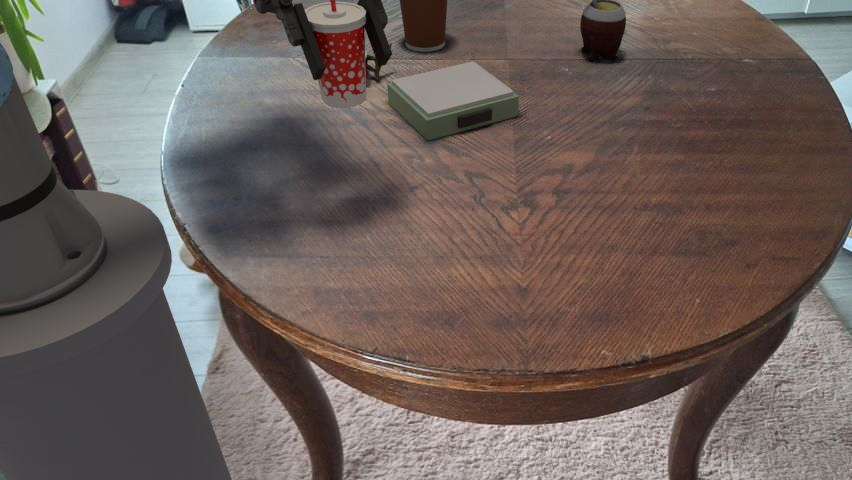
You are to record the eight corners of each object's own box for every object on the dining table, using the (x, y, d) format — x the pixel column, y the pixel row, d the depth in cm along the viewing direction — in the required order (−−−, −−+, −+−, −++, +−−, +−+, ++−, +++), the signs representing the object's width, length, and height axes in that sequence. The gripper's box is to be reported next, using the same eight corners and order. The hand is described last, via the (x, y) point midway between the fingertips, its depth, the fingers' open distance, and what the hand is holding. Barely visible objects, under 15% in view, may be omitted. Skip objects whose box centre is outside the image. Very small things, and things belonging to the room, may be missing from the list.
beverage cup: (384, 102, 77) (372, -38, 68) (330, 117, 74) (310, -27, 65) (357, 80, 81) (343, -55, 72) (305, 93, 78) (283, -45, 69)
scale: (429, 142, 96) (428, 117, 93) (388, 103, 104) (386, 79, 101) (520, 117, 101) (521, 93, 99) (474, 82, 109) (474, 59, 107)
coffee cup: (402, 31, 123) (397, -44, 116) (456, 34, 123) (455, -41, 115) (392, 53, 116) (386, -25, 109) (449, 56, 116) (447, -22, 108)
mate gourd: (628, 53, 119) (642, -45, 109) (606, 70, 114) (619, -31, 104) (587, 41, 122) (597, -54, 112) (564, 57, 117) (573, -41, 107)
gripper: (354, -139, 79) (429, 63, 79) (169, -122, 71) (253, 102, 71) (370, -190, 72) (452, 32, 72) (167, -177, 64) (260, 71, 65)
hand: (353, 66), depth 72 cm, fingers closed on beverage cup, 6 cm apart
